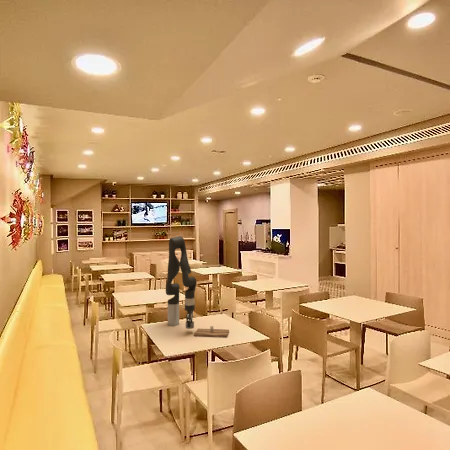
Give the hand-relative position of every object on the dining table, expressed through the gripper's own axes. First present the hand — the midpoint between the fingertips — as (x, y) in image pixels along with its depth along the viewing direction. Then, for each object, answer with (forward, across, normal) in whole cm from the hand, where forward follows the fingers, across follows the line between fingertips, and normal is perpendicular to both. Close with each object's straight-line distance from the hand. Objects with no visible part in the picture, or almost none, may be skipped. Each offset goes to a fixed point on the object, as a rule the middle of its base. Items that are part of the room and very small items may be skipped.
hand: (189, 325), depth 269 cm
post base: (+5, +1, +17) cm, 18 cm away
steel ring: (+1, 0, 0) cm, 1 cm away
